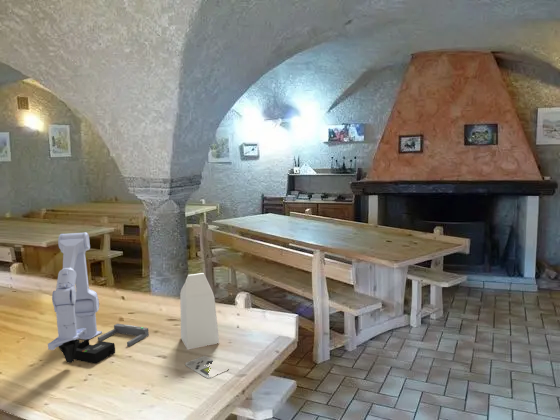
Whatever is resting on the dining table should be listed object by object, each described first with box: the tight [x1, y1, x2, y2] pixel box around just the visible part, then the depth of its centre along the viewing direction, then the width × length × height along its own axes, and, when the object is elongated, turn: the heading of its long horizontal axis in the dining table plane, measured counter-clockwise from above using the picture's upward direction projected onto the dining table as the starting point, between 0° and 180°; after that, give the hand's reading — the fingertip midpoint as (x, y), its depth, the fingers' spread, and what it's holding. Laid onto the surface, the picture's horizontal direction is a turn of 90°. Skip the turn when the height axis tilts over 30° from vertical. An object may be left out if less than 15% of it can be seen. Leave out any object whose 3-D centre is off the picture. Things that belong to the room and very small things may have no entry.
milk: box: [179, 272, 220, 351], centre depth 176 cm, size 12×12×26 cm
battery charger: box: [74, 339, 116, 364], centre depth 167 cm, size 13×10×4 cm
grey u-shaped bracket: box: [97, 323, 150, 347], centre depth 182 cm, size 15×11×3 cm
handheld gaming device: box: [184, 355, 214, 379], centre depth 155 cm, size 9×1×15 cm
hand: (70, 361), depth 158 cm, fingers closed
